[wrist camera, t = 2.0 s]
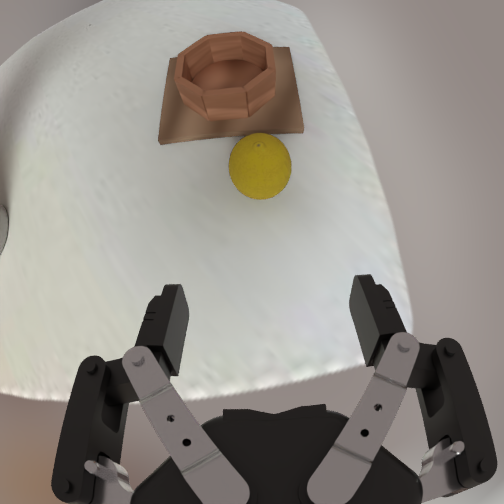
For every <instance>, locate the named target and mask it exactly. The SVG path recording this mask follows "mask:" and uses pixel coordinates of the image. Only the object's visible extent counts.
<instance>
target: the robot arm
mask: <svg viewBox="0 0 504 504" xmlns="http://www.w3.org/2000/svg"><path fill="white" fill-rule="evenodd" d="M7 231H8V217H7V212H6V210H5V208H4V207H3V206H2V205H1V204H0V254H1V252H2V250H3V247H4V245H5V241H6V237H7ZM349 307H350V312H351V316H352V319H353V322H354V325H355V329H356V332H357V335H358V339H359V342H360V346H361V349H362V353H363V356H364V360H365V364H366V367H369V366H374V367H375V373H374V375H373V377H372V379H371V381H370V383H369V385H368V386H367V388H366V390H365V392H364V394H363V396H362V398H361V399H360V401H359V403H358V405H357V407H356V408H355V410H354V412H353V414H352V415H351V417H350V418H348V417H347V416H345V415H343V414H340V413H338V412H334V411H329V410H326V405H325V404H320V405H311V406H301V407H298V408H294V409H291V410H288V411H285V412H281V413H278V414H270V413H265V412H259V411H254V410H250V409H223V416H219V417H216V418H213V419H211V420H209V421H207V422H205V423H204V424H202V425H201V426H200V424H199V423H198V422H197V420H196V419H195V418H194V416H193V415H192V413H191V412H190V411H189V409H188V408H187V406H186V405H185V403H184V402H183V400H182V399H181V397H180V396H179V394H178V393H177V391H176V390H175V388H174V387H173V385H172V384H171V383H170V377H171V376H178V374H179V369H180V363H181V358H182V352H183V347H184V341H185V336H186V331H187V326H188V321H189V308H188V305H187V301H186V298H185V294H184V291H183V288H182V285H181V284H169V285H165V286H164V288H163V291H162V294H161V296H155V297H154V298H153V299H152V300H151V301H150V302H149V304H148V307H147V310H146V314H145V316H144V321H143V322H142V325H141V328H140V331H139V334H138V337H137V340H136V344H135V346H134V347H133V348H131V349H129V350H128V351H127V352H126V353H125V354H124V356H123V358H120V359H116V360H112V361H107V362H105V361H104V360H103V359H102V358H101V357H99V356H90V357H87V358H86V359H84V360H83V361H82V363H81V364H80V366H79V369H78V372H77V375H76V378H75V382H74V385H73V388H72V392H71V395H70V399H69V402H68V406H67V410H66V414H65V418H64V422H63V426H62V430H61V435H60V439H59V443H58V448H57V453H56V458H55V464H54V469H53V475H52V482H51V486H52V490H53V492H54V494H55V496H56V497H57V498H58V499H59V500H61V501H63V502H65V503H68V504H421V503H423V502H426V501H429V500H432V499H435V498H438V497H449V496H452V495H455V494H458V493H460V492H463V491H465V490H468V489H470V488H473V487H475V486H477V485H480V484H482V483H484V482H486V481H488V480H489V479H490V478H491V477H492V476H493V475H494V474H495V471H496V469H497V457H496V452H495V448H494V444H493V440H492V436H491V432H490V428H489V425H488V421H487V418H486V414H485V411H484V407H483V404H482V401H481V398H480V395H479V392H478V389H477V386H476V383H475V381H474V378H473V375H472V372H471V370H470V367H469V365H468V362H467V360H466V357H465V355H464V352H463V350H462V348H461V346H460V344H459V343H458V342H457V341H455V340H454V339H451V338H443V339H441V340H440V341H439V342H438V343H437V345H431V344H423V343H419V342H418V341H417V339H416V338H415V337H414V336H413V335H411V334H409V333H407V332H406V329H405V327H404V325H403V322H402V320H401V318H400V315H399V313H398V311H397V309H396V308H395V304H394V302H393V301H392V298H391V295H390V293H389V291H388V290H387V289H386V288H385V287H384V286H382V285H381V284H378V285H376V284H375V282H374V280H373V277H372V276H371V275H370V274H367V275H355V276H354V280H353V285H352V290H351V294H350V300H349ZM407 387H409V388H416V392H417V396H418V400H419V404H420V408H421V412H422V416H423V421H424V426H425V430H426V435H427V441H428V446H429V450H428V451H427V452H426V453H425V455H424V456H423V459H422V469H421V472H420V474H419V476H418V475H417V474H416V473H415V472H414V471H413V470H411V469H410V468H408V467H407V466H406V465H405V464H404V463H402V462H401V461H400V460H399V459H398V458H396V457H395V456H394V455H392V454H391V453H390V452H389V451H388V450H387V449H385V448H384V447H383V446H382V442H383V441H384V439H385V437H386V435H387V433H388V430H389V429H390V426H391V424H392V422H393V420H394V418H395V416H396V413H397V411H398V409H399V407H400V405H401V402H402V400H403V398H404V395H405V393H406V390H407ZM135 401H139V402H140V405H141V406H142V409H143V410H144V412H145V414H146V416H147V417H148V419H149V421H150V423H151V425H152V426H153V428H154V430H155V431H156V433H157V435H158V437H159V438H160V440H161V441H162V443H163V445H164V446H165V448H166V449H167V451H168V452H169V454H170V456H169V457H168V458H167V460H166V461H164V462H163V463H162V464H161V465H160V466H159V467H158V468H157V469H156V470H155V471H154V472H153V473H152V474H151V475H149V476H148V477H147V478H146V479H145V480H144V481H143V482H142V483H141V484H140V485H139V486H138V487H137V488H136V489H135V490H134V491H133V490H132V489H131V487H130V484H129V476H128V473H127V471H126V470H125V469H124V468H123V467H122V466H120V458H121V451H122V444H123V437H124V429H125V423H126V417H127V411H128V405H129V403H130V402H135Z"/></svg>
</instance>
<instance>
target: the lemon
mask: <svg viewBox="0 0 504 504" xmlns="http://www.w3.org/2000/svg"><path fill="white" fill-rule="evenodd" d="M229 173H230V176H231V179H232V182H233V184H234V185H235V186H236V188H237V189H238V190H239V191H240V192H241V193H242V194H244V195H245V196H248V197H250V198H253V199H268V198H271V197H273V196H275V195H277V194H279V193H280V192H281V191H282V190H283V189H284V188H285V186H286V184H287V183H288V181H289V178H290V175H291V159H290V156H289V153H288V150H287V149H286V147H285V146H284V144H283V143H282V142H281V141H280V140H279V139H278V138H276V137H274V136H272V135H269V134H266V133H254V134H251V135H248V136H245V137H244V138H242V139H241V140H240V141H239V142H238V143H237V144H236V145H235V147H234V148H233V150H232V152H231V155H230V160H229Z"/></svg>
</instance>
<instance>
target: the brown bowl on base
mask: <svg viewBox="0 0 504 504" xmlns="http://www.w3.org/2000/svg"><path fill="white" fill-rule="evenodd" d="M303 131H304V124H303V118H302V112H301V106H300V100H299V95H298V89H297V84H296V78H295V73H294V68H293V63H292V58H291V53H290V48H289V47H272V45H271V44H269V43H267V42H265V41H263V40H261V39H259V38H257V37H255V36H252V35H250V34H248V33H246V32H230V33H221V34H212V35H207V36H204V37H203V38H201V39H200V40H198V41H197V42H195V43H194V44H192V45H191V46H189V47H188V48H186V49H185V50H184V51H182V52H181V53H179V55H178V57H175V58H170V61H169V67H168V72H167V78H166V84H165V91H164V97H163V104H162V112H161V119H160V127H159V136H158V141H159V143H160V144H161V145H163V144H170V143H177V142H185V141H193V140H201V139H211V138H221V137H232V136H246V135H251V134H254V133H266V134H286V133H303Z"/></svg>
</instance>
